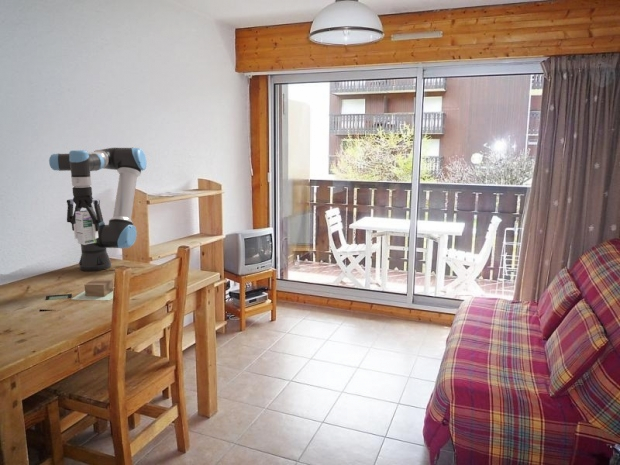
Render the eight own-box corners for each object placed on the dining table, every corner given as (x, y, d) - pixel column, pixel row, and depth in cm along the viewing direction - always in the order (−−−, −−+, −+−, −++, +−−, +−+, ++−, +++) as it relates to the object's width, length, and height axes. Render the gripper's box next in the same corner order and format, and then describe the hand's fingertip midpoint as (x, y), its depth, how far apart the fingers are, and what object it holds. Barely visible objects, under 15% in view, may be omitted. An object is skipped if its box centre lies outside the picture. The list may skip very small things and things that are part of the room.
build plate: (91, 290, 208) (90, 287, 208) (127, 291, 207) (126, 288, 207) (70, 302, 193) (70, 299, 192) (109, 303, 192) (109, 300, 191)
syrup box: (84, 245, 208) (81, 212, 205) (77, 243, 212) (74, 210, 209) (96, 242, 212) (93, 210, 209) (89, 241, 216) (86, 209, 213)
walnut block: (95, 290, 204) (94, 278, 203) (113, 290, 203) (112, 279, 202) (85, 296, 196) (84, 284, 195) (104, 296, 196) (103, 284, 195)
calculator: (39, 312, 183) (38, 304, 182) (47, 302, 194) (46, 295, 193) (66, 310, 185) (65, 302, 185) (72, 300, 196) (71, 293, 196)
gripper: (53, 187, 204) (59, 239, 208) (100, 187, 203) (105, 240, 207) (63, 185, 211) (68, 235, 216) (109, 185, 210) (113, 236, 215)
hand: (86, 238), depth 212 cm, fingers closed on syrup box, 8 cm apart
